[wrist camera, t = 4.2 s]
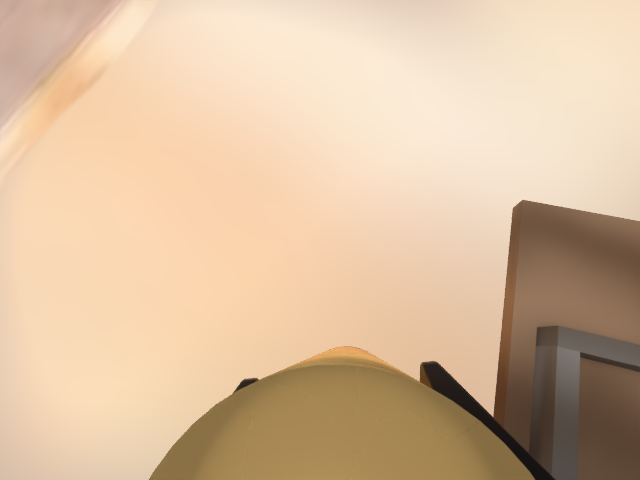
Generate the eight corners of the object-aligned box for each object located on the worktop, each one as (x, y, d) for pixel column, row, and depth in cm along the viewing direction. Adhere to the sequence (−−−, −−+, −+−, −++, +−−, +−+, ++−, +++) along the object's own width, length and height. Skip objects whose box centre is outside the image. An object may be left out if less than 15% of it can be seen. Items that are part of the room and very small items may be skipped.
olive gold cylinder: (356, 477, 14) (405, 1391, 2) (280, 403, 15) (-2, 656, 3) (415, 390, 14) (724, 620, 3) (339, 327, 16) (308, 281, 4)
